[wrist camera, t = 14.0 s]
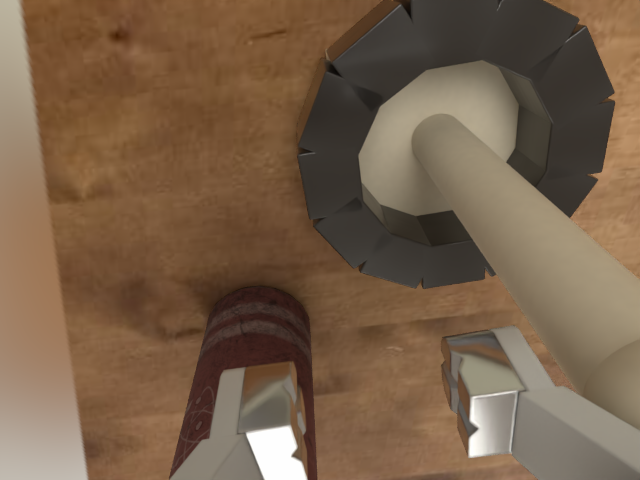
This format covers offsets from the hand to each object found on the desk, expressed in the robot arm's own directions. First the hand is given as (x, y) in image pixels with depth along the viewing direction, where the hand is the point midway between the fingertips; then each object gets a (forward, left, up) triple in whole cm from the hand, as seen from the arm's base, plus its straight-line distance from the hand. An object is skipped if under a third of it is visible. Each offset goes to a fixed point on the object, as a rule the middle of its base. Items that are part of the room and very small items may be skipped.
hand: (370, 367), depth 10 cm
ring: (+5, 0, -13) cm, 14 cm away
